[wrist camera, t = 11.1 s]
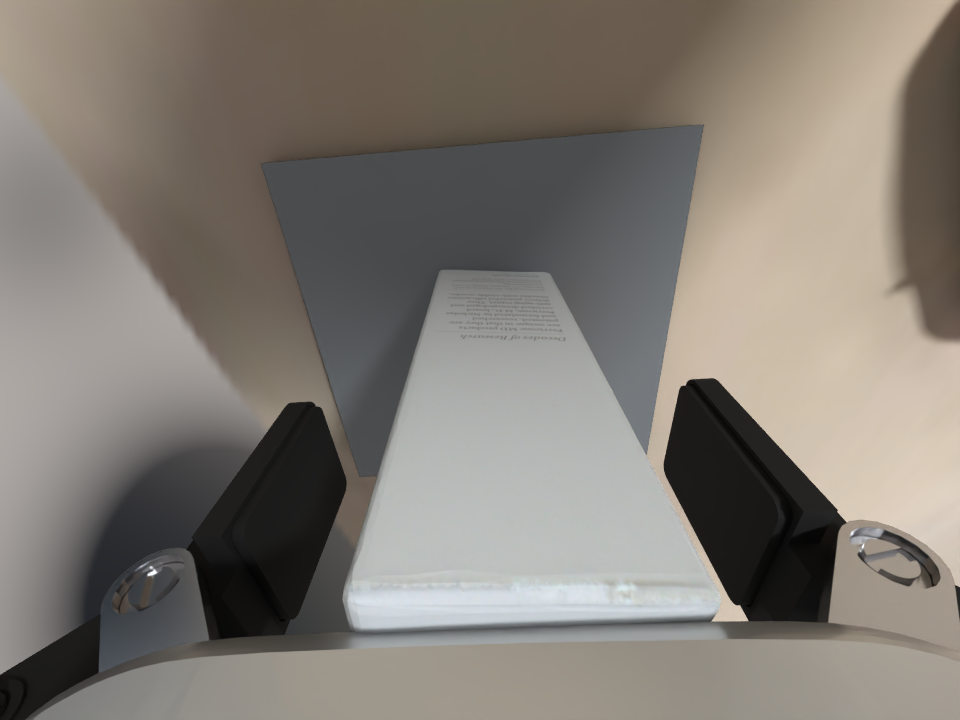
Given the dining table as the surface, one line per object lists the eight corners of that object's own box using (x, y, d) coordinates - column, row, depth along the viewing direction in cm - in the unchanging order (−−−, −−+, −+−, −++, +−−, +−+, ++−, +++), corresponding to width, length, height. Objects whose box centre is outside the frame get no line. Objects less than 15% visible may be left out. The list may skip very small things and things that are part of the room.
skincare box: (539, 402, 17) (623, 803, 7) (441, 400, 17) (380, 799, 7) (554, 265, 14) (746, 610, 4) (437, 262, 14) (316, 601, 4)
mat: (694, 124, 13) (703, 124, 12) (641, 452, 20) (645, 461, 19) (269, 162, 13) (260, 163, 13) (362, 467, 20) (359, 476, 20)
